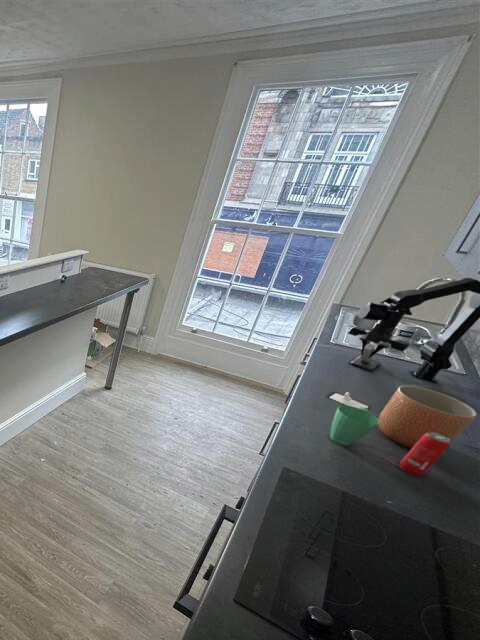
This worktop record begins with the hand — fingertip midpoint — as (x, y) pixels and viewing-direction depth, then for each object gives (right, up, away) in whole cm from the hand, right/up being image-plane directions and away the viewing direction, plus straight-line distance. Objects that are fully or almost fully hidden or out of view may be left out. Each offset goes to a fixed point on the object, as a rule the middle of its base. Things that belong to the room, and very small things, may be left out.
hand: (365, 356), depth 172 cm
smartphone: (+4, -3, +4) cm, 7 cm away
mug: (-54, -29, -47) cm, 77 cm away
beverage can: (-45, -37, -58) cm, 82 cm away
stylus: (+5, -2, +5) cm, 7 cm away
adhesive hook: (-33, -19, -26) cm, 46 cm away
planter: (-33, -30, -45) cm, 63 cm away
